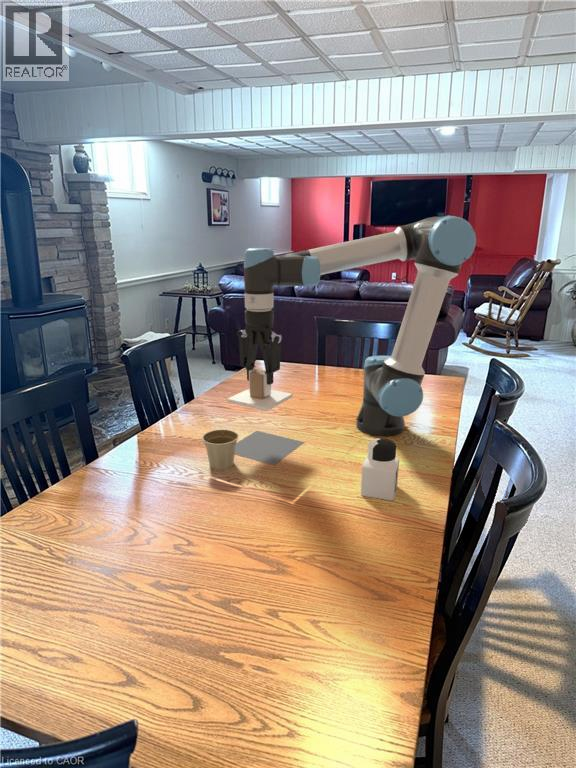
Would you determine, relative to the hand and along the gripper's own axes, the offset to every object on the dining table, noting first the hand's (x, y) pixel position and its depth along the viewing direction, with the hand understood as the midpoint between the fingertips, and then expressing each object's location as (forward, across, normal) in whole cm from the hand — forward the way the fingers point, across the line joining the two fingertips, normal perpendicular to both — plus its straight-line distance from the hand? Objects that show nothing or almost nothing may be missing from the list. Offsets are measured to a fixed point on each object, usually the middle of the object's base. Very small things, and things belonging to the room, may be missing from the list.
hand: (260, 393), depth 138 cm
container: (+17, +38, -4) cm, 42 cm away
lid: (+2, 0, 0) cm, 2 cm away
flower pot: (+17, -3, -14) cm, 22 cm away
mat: (+17, 0, +1) cm, 17 cm away
